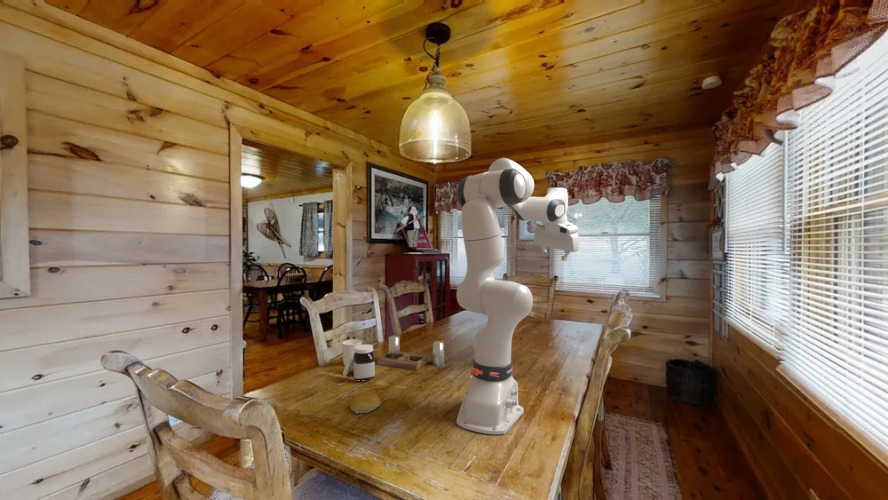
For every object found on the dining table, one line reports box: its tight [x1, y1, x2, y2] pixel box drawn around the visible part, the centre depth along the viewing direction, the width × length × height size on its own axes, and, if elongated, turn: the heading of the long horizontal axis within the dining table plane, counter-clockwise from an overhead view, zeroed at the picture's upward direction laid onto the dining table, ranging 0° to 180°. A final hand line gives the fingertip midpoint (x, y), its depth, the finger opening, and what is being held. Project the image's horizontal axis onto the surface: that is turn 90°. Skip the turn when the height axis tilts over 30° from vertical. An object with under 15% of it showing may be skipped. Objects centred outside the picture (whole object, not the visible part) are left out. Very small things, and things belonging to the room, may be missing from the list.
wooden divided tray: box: [376, 350, 431, 371], centre depth 139 cm, size 12×18×3 cm, turn 67°
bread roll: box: [349, 391, 381, 413], centre depth 103 cm, size 8×9×4 cm
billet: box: [432, 340, 445, 369], centre depth 138 cm, size 4×4×10 cm
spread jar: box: [342, 344, 376, 381], centre depth 126 cm, size 12×11×12 cm
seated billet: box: [388, 335, 401, 359], centre depth 141 cm, size 4×4×10 cm
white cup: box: [341, 338, 363, 367], centre depth 138 cm, size 8×8×10 cm
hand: (554, 258), depth 144 cm, fingers open, 8 cm apart
